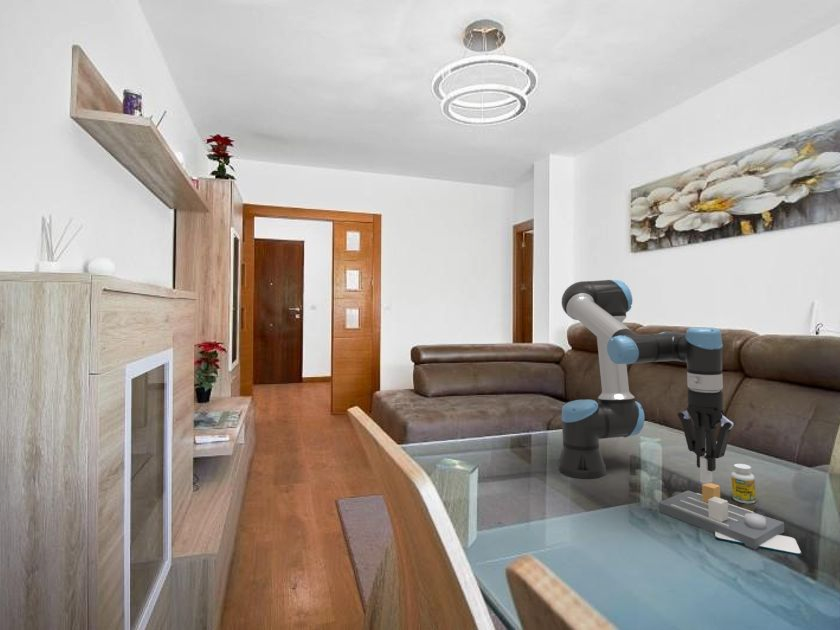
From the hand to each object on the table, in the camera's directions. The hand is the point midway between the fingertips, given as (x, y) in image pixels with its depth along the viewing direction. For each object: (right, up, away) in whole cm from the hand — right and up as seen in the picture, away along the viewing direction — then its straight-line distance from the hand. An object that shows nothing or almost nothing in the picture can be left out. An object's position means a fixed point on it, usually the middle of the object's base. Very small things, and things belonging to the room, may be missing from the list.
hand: (706, 481), depth 113 cm
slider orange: (+5, -8, +6) cm, 11 cm away
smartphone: (+7, -11, -8) cm, 15 cm away
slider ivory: (+2, -8, -2) cm, 9 cm away
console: (+4, -11, +2) cm, 11 cm away
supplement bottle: (+18, -10, +12) cm, 24 cm away
